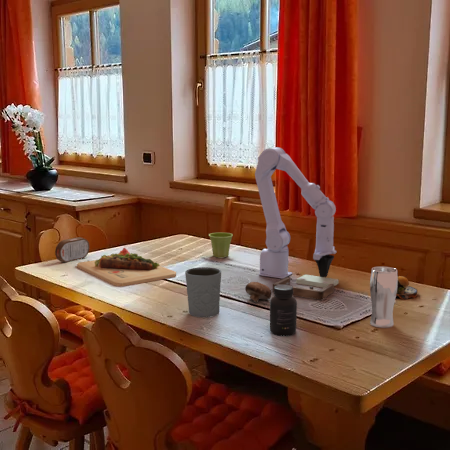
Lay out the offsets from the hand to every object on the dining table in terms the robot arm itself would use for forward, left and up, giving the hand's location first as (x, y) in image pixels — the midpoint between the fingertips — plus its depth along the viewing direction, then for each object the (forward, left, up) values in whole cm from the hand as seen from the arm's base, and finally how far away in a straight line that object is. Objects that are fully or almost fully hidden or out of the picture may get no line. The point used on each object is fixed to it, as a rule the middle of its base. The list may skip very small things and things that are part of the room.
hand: (323, 276), depth 206 cm
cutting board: (-65, -25, -2) cm, 70 cm away
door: (0, -5, -2) cm, 6 cm away
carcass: (0, -16, -1) cm, 17 cm away
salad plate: (+26, -3, -2) cm, 26 cm away
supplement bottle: (+10, -53, -1) cm, 54 cm away
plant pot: (-48, +13, -1) cm, 50 cm away
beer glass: (+30, -34, -1) cm, 46 cm away
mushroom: (-8, -32, -1) cm, 34 cm away
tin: (-93, -22, -1) cm, 96 cm away
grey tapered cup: (-16, -50, -1) cm, 53 cm away
